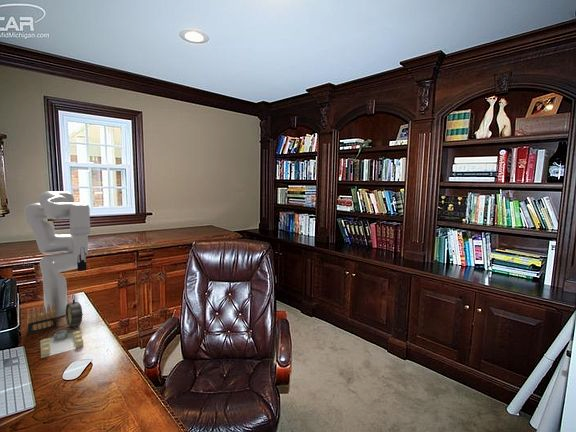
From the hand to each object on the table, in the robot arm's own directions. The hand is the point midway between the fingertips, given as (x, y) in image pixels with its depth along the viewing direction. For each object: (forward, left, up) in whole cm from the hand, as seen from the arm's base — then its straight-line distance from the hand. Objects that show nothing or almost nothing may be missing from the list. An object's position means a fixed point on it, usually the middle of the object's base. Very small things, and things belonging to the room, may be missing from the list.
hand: (82, 270), depth 137 cm
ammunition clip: (-12, -15, -29) cm, 35 cm away
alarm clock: (-7, -3, -29) cm, 30 cm away
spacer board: (+9, -9, -29) cm, 32 cm away
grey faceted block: (+3, -9, -29) cm, 30 cm away
